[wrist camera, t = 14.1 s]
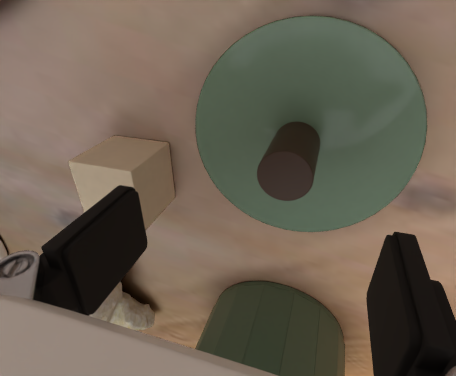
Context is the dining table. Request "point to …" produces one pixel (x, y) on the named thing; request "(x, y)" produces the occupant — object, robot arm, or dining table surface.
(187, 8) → the dining table surface
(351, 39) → the basket lid
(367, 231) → the dining table surface
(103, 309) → the cheese
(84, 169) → the block
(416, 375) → the robot arm
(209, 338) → the basket
